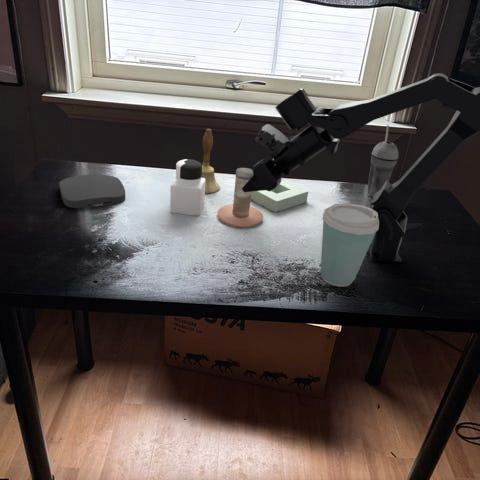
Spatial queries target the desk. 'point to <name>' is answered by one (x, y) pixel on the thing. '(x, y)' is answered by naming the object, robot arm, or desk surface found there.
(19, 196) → the desk surface
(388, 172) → the beverage cup
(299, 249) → the desk surface
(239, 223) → the terracotta coaster
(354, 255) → the disposable coffee cup
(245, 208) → the beige cylinder
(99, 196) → the media streaming box
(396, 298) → the desk surface
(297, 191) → the socket block
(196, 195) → the medicine bottle
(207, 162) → the hand bell
